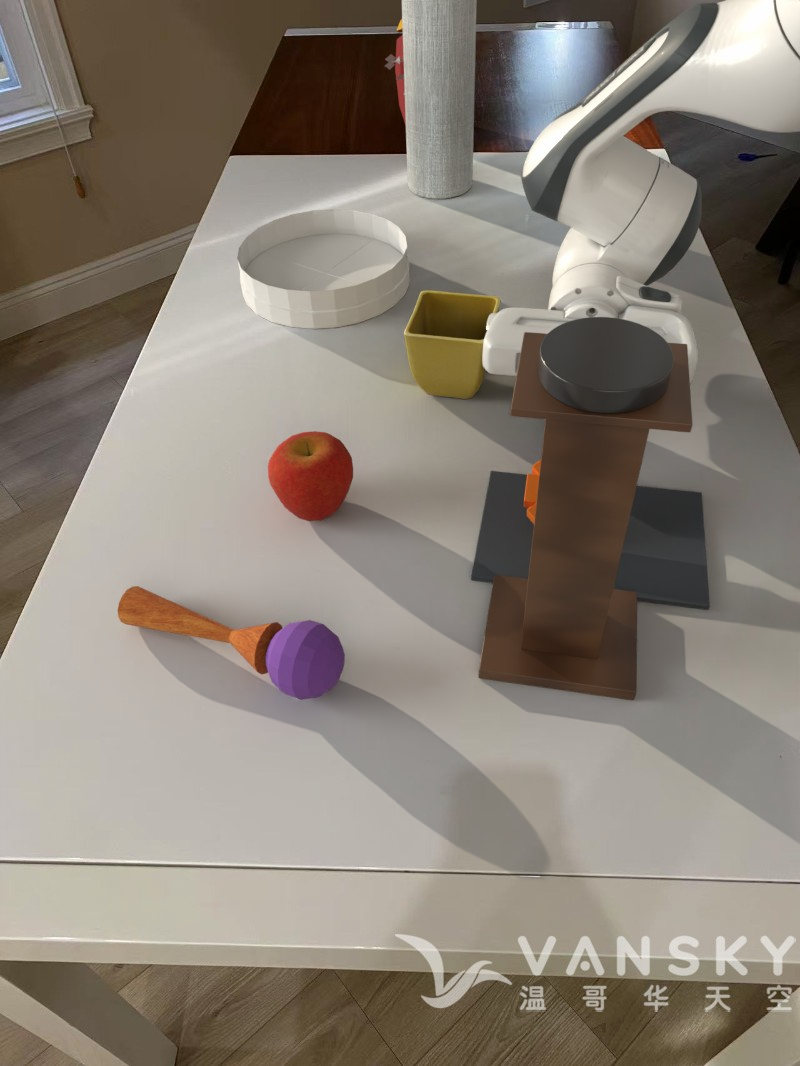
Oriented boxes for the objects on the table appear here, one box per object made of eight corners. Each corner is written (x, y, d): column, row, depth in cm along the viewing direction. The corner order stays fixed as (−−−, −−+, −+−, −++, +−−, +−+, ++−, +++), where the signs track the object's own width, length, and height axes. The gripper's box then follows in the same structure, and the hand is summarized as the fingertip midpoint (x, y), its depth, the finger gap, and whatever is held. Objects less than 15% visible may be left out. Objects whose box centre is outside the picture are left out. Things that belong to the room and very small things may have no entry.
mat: (700, 495, 78) (701, 492, 78) (708, 610, 69) (710, 606, 69) (490, 474, 82) (491, 470, 81) (470, 580, 72) (471, 576, 72)
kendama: (147, 557, 70) (355, 616, 63) (160, 611, 74) (359, 673, 66) (98, 598, 66) (316, 666, 59) (115, 653, 69) (323, 724, 62)
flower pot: (485, 414, 88) (488, 341, 82) (405, 404, 90) (402, 333, 84) (497, 366, 94) (501, 296, 88) (422, 359, 96) (421, 289, 89)
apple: (259, 510, 80) (245, 448, 74) (316, 467, 84) (307, 405, 78) (316, 546, 76) (305, 484, 70) (373, 500, 80) (367, 437, 74)
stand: (634, 600, 70) (709, 313, 50) (634, 701, 63) (719, 414, 43) (493, 583, 72) (511, 299, 52) (478, 678, 65) (492, 394, 45)
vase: (485, 183, 128) (492, -22, 109) (442, 206, 123) (442, -4, 104) (437, 167, 133) (436, -32, 114) (394, 188, 128) (385, -16, 109)
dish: (442, 267, 110) (442, 231, 107) (343, 347, 98) (339, 310, 95) (312, 229, 120) (308, 195, 116) (207, 298, 107) (199, 263, 104)
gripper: (490, 282, 84) (471, 359, 75) (698, 296, 81) (705, 378, 72) (488, 335, 89) (470, 414, 80) (685, 350, 86) (690, 435, 76)
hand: (583, 398), depth 76 cm, fingers closed on orange ring, 2 cm apart
